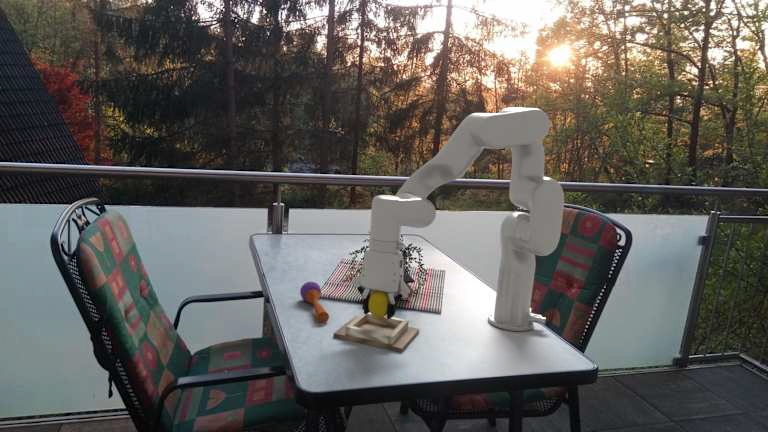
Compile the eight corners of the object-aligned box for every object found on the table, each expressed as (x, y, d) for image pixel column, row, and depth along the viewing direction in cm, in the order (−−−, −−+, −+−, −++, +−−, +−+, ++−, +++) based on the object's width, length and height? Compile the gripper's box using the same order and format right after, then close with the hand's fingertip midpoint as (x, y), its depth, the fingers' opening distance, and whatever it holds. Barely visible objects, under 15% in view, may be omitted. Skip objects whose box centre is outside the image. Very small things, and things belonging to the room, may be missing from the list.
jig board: (418, 332, 144) (419, 321, 143) (401, 352, 131) (402, 340, 130) (355, 319, 150) (356, 308, 149) (333, 337, 137) (334, 325, 136)
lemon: (370, 323, 136) (372, 292, 135) (365, 315, 141) (367, 285, 140) (391, 323, 138) (394, 292, 136) (385, 315, 143) (388, 285, 142)
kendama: (310, 309, 144) (297, 280, 162) (312, 330, 146) (300, 299, 164) (332, 304, 145) (317, 276, 164) (335, 325, 147) (319, 294, 166)
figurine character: (367, 309, 163) (415, 302, 167) (366, 284, 161) (415, 277, 165) (361, 301, 169) (408, 294, 173) (360, 277, 167) (407, 271, 172)
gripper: (421, 247, 137) (415, 316, 140) (358, 237, 143) (353, 304, 146) (412, 254, 130) (406, 326, 133) (346, 243, 136) (341, 313, 139)
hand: (378, 314), depth 139 cm, fingers closed on lemon, 5 cm apart
